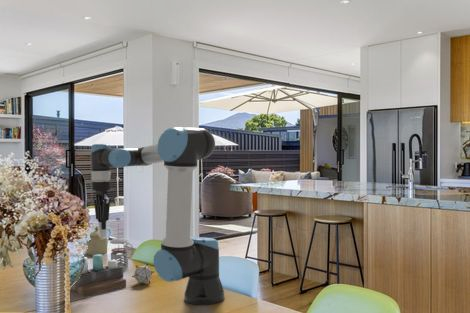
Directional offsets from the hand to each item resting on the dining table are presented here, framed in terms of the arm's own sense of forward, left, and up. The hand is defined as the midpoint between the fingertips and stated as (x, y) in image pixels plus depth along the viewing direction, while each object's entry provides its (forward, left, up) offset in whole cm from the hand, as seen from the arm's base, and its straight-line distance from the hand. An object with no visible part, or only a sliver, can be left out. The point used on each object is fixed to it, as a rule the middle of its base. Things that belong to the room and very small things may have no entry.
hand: (102, 236), depth 195 cm
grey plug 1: (0, +9, -13) cm, 16 cm away
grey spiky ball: (-8, -14, -21) cm, 27 cm away
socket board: (0, +3, -21) cm, 21 cm away
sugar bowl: (+64, -25, -21) cm, 72 cm away
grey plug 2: (0, -4, -17) cm, 17 cm away
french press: (+20, -18, -21) cm, 34 cm away
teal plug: (0, +3, -13) cm, 14 cm away
